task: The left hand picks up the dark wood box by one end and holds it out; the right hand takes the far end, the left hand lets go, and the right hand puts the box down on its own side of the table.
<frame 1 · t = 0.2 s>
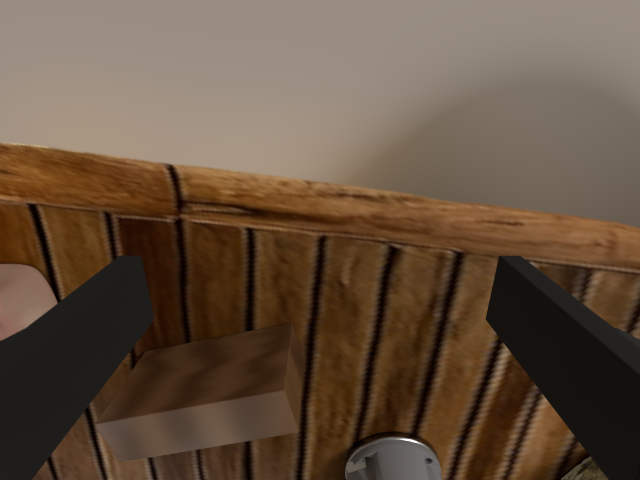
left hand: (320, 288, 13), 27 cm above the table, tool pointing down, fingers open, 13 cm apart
anatomical model: (14, 303, 45), on the table
fossil: (588, 472, 57), on the table
box: (224, 354, 48), on the table
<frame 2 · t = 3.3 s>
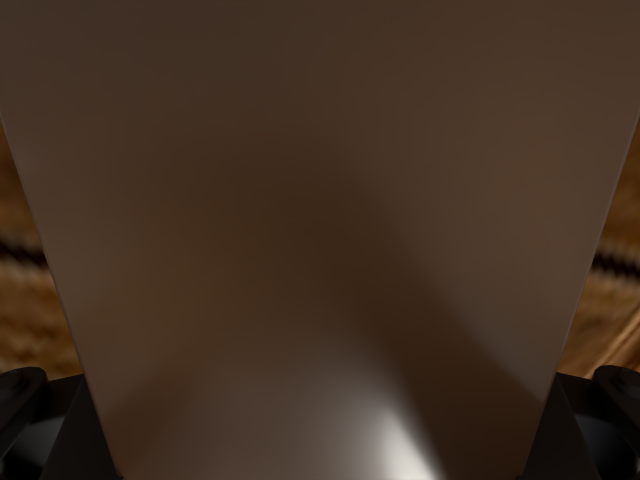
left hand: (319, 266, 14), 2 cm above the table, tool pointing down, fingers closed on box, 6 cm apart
box: (319, 78, 14), on the table, touching left hand
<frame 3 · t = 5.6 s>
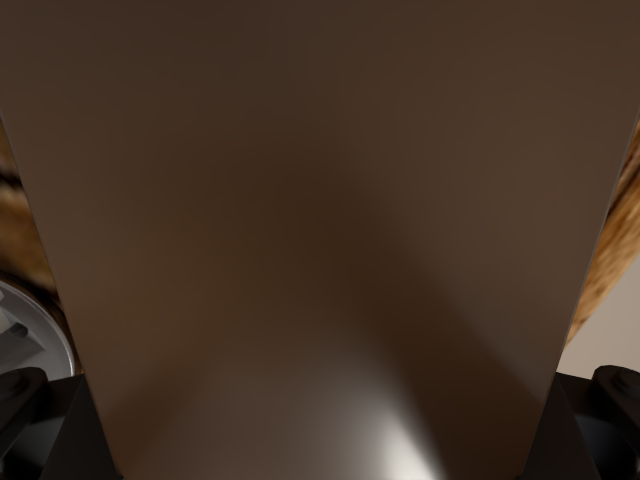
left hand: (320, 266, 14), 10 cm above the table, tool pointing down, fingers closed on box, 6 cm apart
box: (319, 78, 14), point 8 cm above the table, touching left hand
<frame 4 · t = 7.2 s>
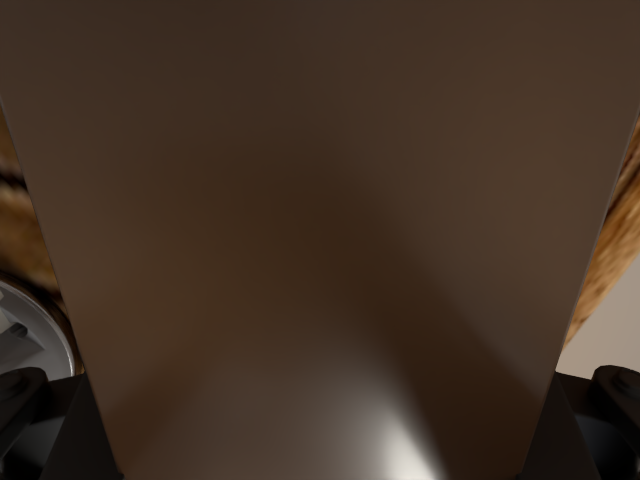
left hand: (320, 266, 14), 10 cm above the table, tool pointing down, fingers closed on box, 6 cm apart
box: (320, 78, 14), point 8 cm above the table, touching left hand, right hand
when the left hand's fingers open (10 cm above the table, at t = 8.3 s): box stays where it is, held by the right hand.
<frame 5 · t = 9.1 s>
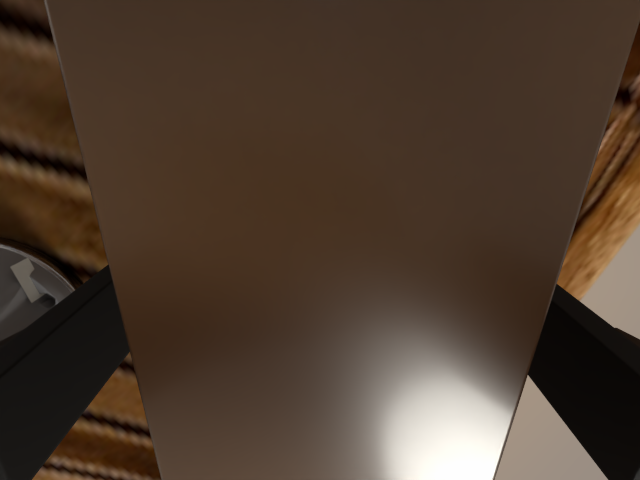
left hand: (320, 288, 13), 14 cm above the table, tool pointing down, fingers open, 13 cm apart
box: (328, 53, 14), point 10 cm above the table, touching right hand
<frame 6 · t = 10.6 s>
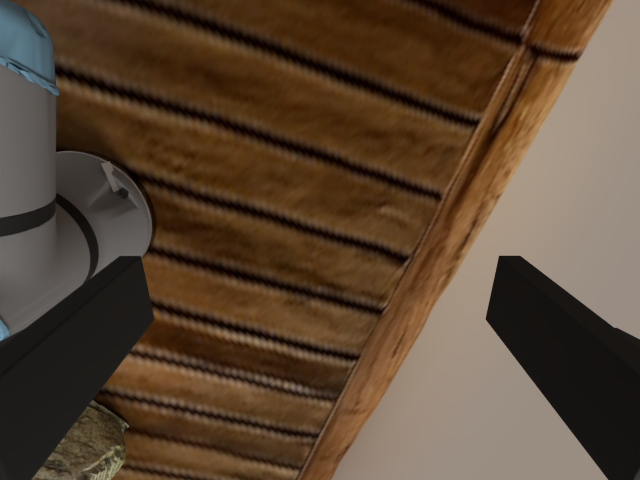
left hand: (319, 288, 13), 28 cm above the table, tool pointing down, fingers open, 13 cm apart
fossil: (82, 410, 53), on the table
when the right hand's fingers open (8 cm above the table, at t = 14.3 s): box stays where it is, resting on anatomical model.
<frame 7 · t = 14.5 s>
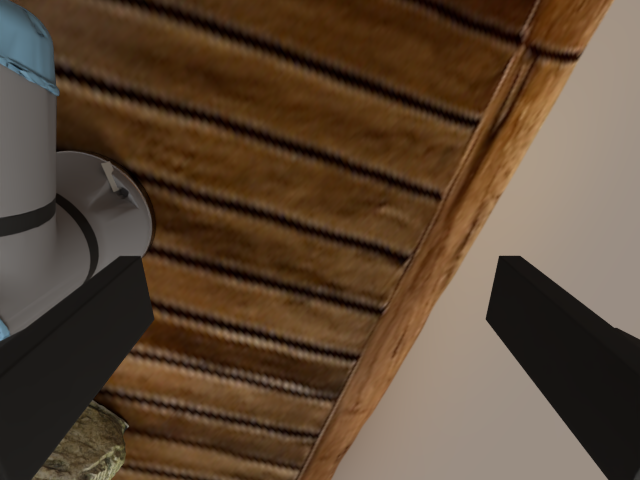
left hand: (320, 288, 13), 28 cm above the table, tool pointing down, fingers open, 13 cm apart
fossil: (82, 410, 53), on the table
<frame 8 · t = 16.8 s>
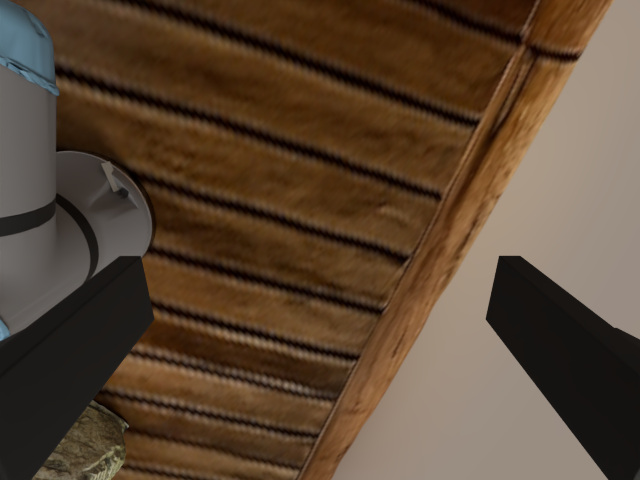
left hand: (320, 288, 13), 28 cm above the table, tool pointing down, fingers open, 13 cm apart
fossil: (82, 410, 53), on the table
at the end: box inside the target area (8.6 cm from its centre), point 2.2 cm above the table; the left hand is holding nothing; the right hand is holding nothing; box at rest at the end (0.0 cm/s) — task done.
